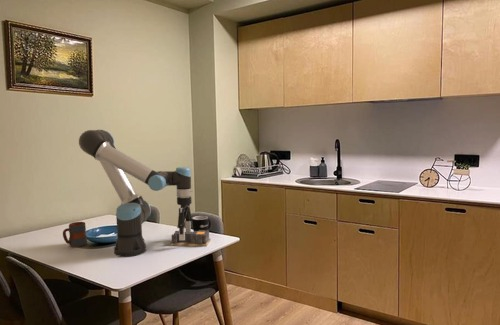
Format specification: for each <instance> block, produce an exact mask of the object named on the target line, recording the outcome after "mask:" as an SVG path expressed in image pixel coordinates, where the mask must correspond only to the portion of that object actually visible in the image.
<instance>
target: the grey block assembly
mask: <svg viewBox="0 0 500 325" xmlns="http://www.w3.org/2000/svg"><path fill="white" fill-rule="evenodd" d="M175 232H179V230H175V231H174V233H175ZM193 232H198V231H193ZM199 232H205V230H199ZM174 233H173V234H171V235H170V236H171V243H170V246H171V247H208V245H209V244H210V242H211V238H210V230H209V229H208V230H206V232H205V233H204V235H203V234H196V235H190V239H191V242H177V234H174ZM203 239H204V243H203Z"/></svg>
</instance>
